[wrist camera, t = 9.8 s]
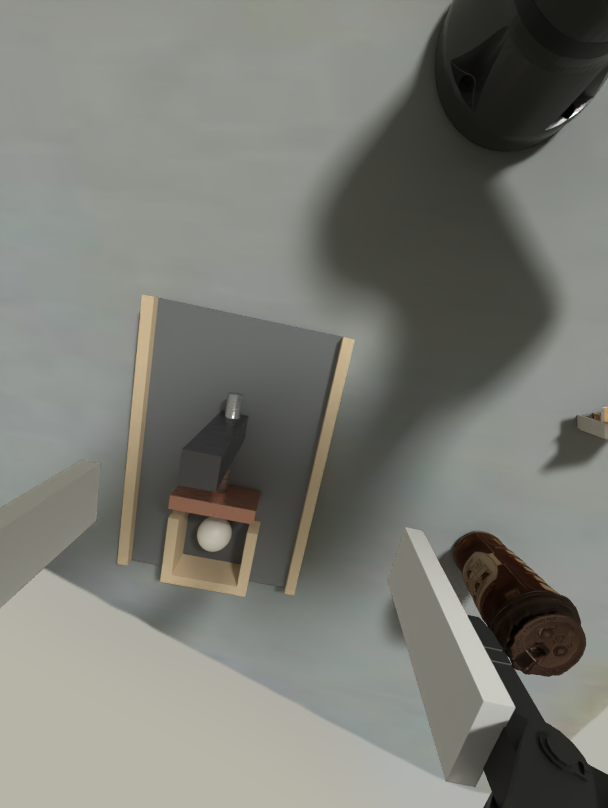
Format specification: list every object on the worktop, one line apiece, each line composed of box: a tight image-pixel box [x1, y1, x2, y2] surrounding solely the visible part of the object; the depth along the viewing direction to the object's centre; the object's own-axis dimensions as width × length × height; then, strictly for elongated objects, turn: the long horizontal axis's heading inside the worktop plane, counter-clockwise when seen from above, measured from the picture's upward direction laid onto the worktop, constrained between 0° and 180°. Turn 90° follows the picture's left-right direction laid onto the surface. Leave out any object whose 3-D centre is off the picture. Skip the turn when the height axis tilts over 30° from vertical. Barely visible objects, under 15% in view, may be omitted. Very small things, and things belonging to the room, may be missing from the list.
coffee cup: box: [454, 531, 586, 677], centre depth 36 cm, size 9×8×13 cm
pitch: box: [117, 294, 355, 597], centre depth 37 cm, size 32×22×4 cm
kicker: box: [168, 392, 261, 524], centre depth 31 cm, size 14×9×12 cm, turn 168°
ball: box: [197, 517, 232, 552], centre depth 39 cm, size 4×4×4 cm
